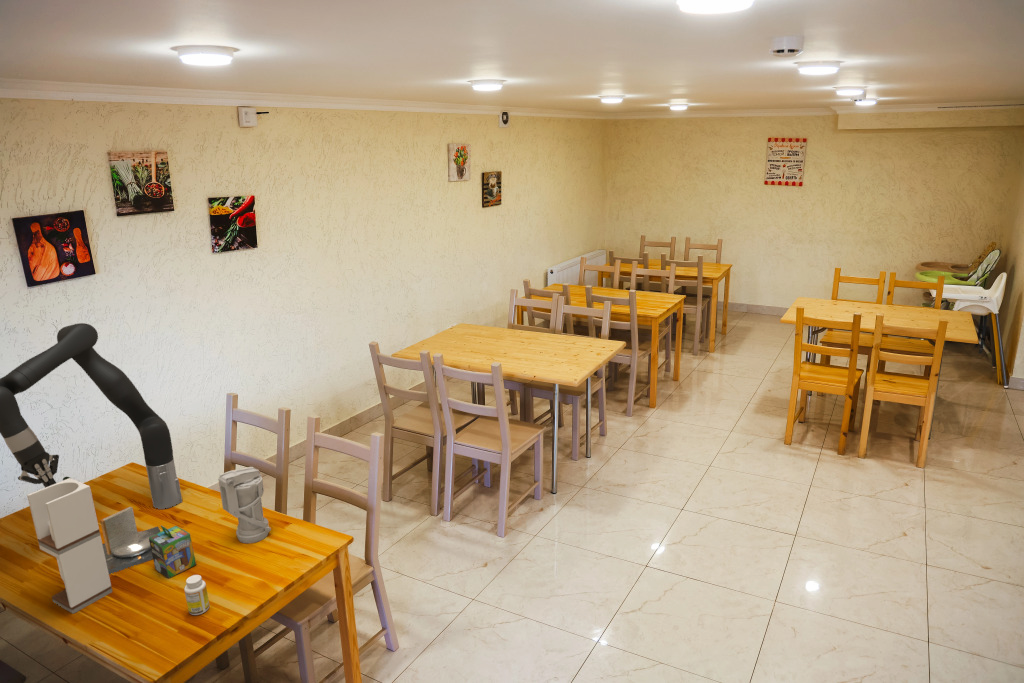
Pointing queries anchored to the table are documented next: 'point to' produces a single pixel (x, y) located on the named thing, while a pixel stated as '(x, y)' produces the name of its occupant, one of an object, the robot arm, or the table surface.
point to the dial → (124, 535)
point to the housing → (125, 562)
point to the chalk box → (172, 551)
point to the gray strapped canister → (245, 502)
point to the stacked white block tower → (72, 541)
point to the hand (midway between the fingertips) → (53, 489)
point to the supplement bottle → (196, 595)
